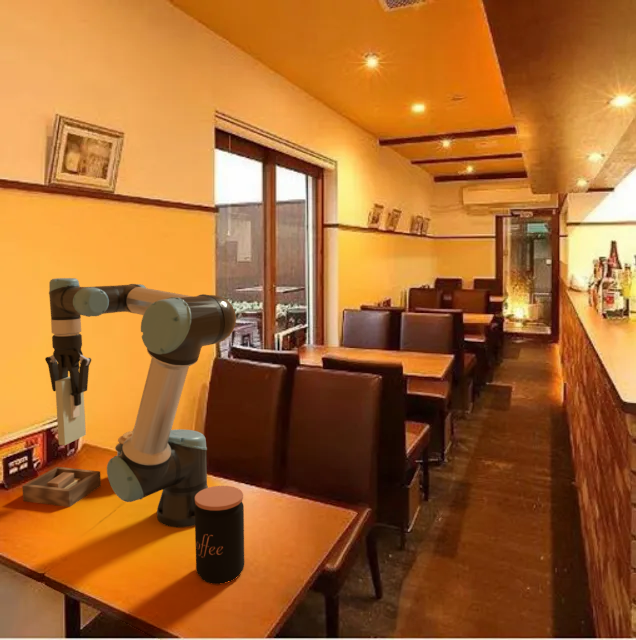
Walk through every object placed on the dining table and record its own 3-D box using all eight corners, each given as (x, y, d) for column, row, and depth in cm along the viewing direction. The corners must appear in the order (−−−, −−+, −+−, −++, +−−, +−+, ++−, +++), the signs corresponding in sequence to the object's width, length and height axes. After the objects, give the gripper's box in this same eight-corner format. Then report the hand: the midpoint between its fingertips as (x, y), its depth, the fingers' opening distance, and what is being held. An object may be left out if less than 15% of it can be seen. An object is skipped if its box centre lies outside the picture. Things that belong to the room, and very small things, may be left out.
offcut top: (74, 481, 162) (73, 473, 162) (58, 492, 155) (58, 483, 155) (63, 480, 163) (63, 472, 162) (47, 491, 155) (47, 482, 155)
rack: (101, 490, 165) (100, 471, 164) (70, 512, 152) (68, 491, 151) (57, 485, 169) (56, 466, 168) (23, 506, 155) (22, 485, 154)
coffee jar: (187, 571, 124) (184, 495, 122) (226, 553, 131) (225, 481, 129) (213, 592, 117) (212, 511, 114) (254, 572, 124) (253, 495, 122)
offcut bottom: (80, 486, 164) (80, 478, 164) (57, 501, 155) (57, 493, 154) (69, 485, 165) (68, 477, 165) (45, 499, 156) (44, 491, 155)
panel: (85, 434, 161) (82, 374, 159) (65, 445, 152) (61, 381, 150) (79, 434, 162) (76, 374, 159) (58, 444, 153) (55, 381, 151)
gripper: (99, 333, 155) (102, 414, 158) (52, 330, 158) (57, 410, 161) (81, 337, 148) (86, 422, 151) (33, 334, 151) (38, 418, 154)
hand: (71, 415), depth 156 cm, fingers closed on panel, 2 cm apart
